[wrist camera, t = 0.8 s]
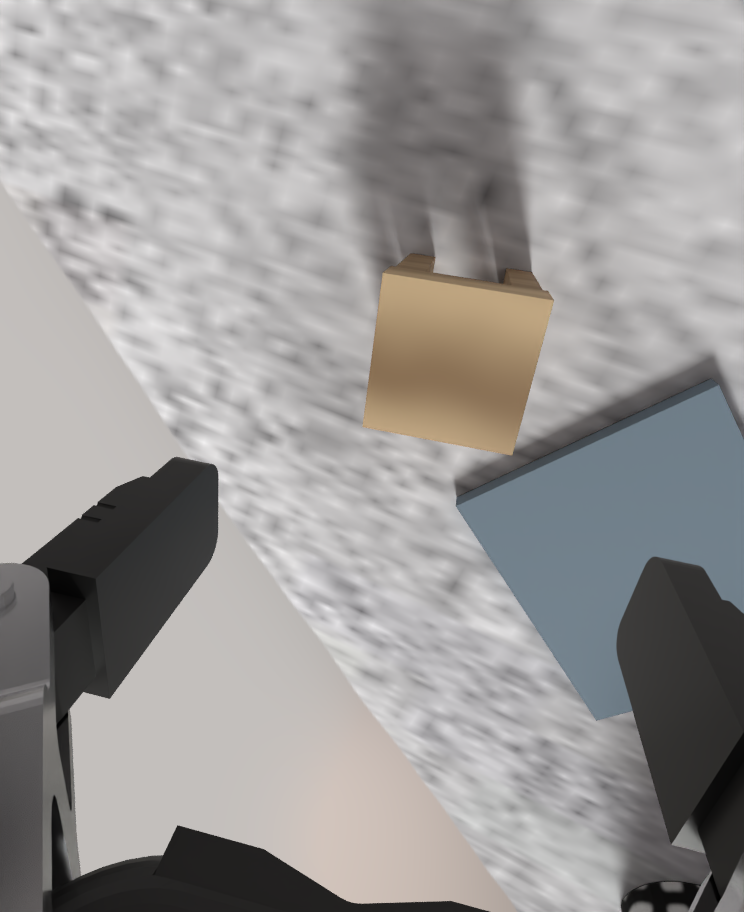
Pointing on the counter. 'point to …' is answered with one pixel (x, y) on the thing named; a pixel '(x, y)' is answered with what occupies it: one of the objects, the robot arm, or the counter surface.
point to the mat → (616, 527)
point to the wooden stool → (455, 355)
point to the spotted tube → (661, 897)
